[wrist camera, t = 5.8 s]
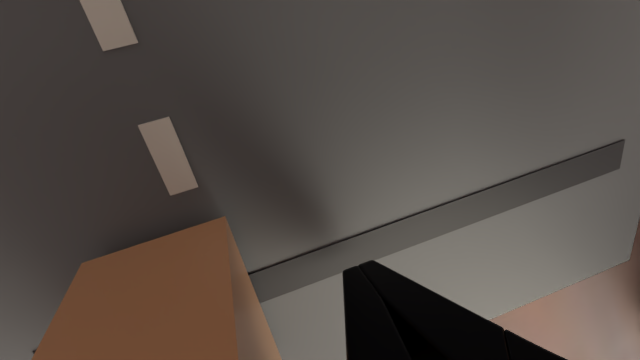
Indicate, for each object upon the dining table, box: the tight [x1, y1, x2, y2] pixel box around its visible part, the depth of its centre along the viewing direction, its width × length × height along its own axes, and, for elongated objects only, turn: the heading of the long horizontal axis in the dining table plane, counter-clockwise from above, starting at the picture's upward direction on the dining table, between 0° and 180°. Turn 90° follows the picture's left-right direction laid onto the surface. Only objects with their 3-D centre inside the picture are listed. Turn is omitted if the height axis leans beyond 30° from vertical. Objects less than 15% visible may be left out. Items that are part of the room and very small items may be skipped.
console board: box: [0, 0, 640, 360], centre depth 9 cm, size 20×20×3 cm
